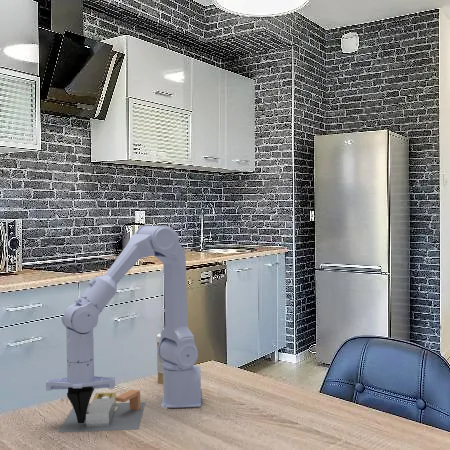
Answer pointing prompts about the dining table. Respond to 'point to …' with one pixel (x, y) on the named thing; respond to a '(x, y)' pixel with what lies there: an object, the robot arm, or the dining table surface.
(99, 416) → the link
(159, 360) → the sprinkles bottle
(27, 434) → the dining table surface
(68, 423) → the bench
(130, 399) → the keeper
